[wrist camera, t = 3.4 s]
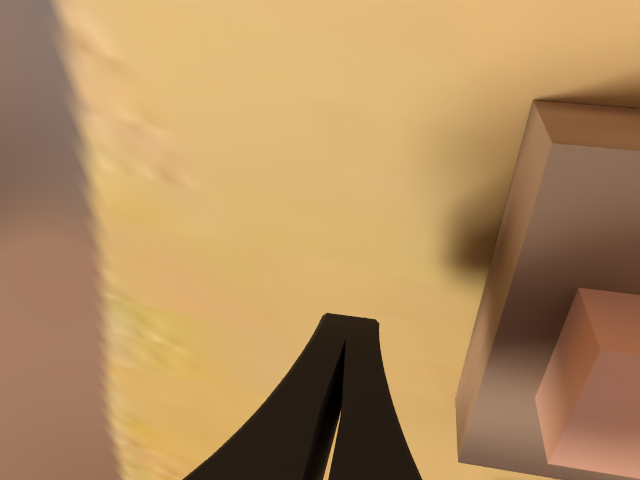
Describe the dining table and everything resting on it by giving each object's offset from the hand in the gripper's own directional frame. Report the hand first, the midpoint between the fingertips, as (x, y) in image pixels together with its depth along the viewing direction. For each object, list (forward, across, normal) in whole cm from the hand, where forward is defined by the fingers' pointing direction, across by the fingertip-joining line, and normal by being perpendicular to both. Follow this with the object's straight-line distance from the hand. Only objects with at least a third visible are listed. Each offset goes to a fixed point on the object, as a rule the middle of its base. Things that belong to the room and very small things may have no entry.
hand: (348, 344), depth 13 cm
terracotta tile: (+1, -7, 0) cm, 7 cm away
